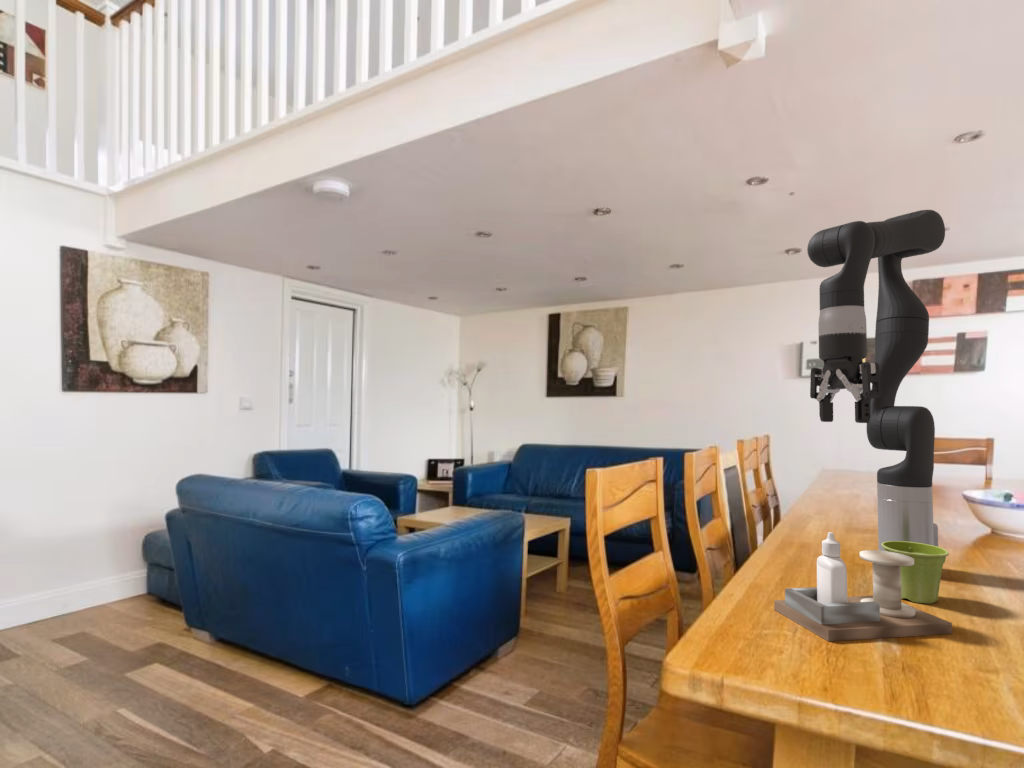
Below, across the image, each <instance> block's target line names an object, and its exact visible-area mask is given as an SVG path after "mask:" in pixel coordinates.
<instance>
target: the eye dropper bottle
mask: <svg viewBox="0 0 1024 768" xmlns="http://www.w3.org/2000/svg"><path fill="white" fill-rule="evenodd" d="M821 554H822V555H820V556H818V557H817V559H816V587H817V602H819V603H821V604H834V603H847V597H848V573H847V572H848V571H847V564H846V563H845V562H844V560H843V559H842V558H841V543H840V542H839V541H838V540H837V539H836V537H835V534H834V532H831V531H830V532H829V531H828V532H827V536H826V538H825V539H824V540H822V541H821Z"/></svg>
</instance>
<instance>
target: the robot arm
mask: <svg viewBox="0 0 1024 768" xmlns="http://www.w3.org/2000/svg"><path fill="white" fill-rule="evenodd" d="M945 226H946V225H945V223H944V219H943V217H942V216H941V214H940V213H939V212H937V211H935V210H934V209H921V210H917V211H913V212H908V213H905V214H901V215H897V216H894V217H890V218H887V219H885V220H881V221H879V220H878V221H870V222H865V221H862V220H856V221H851V222H847V223H844V224H840V225H836V226H833V227H828V228H824V229H821V230H819V231H817V232H816V233H814V234H813V235H812V236H811V237H810V240H809V241H808V243H807V255H808V258H809V260H810V261H811V262H812V263H813V264H814V265H816V266H818V267H822V268H830V267H835V266H840V265H843V266H842V268H841V270H839V272H837V273H836V274H834V275H832V276H830V277H827V278H825V279H823V280H822V281H821V282H820V285H819V317H818V326H817V327H818V358H819V360H821V361H823V366H822V367H812V368H811V369H810V382H809V383H810V385H809V386H810V388H809V393H810V394H809V396H810V398H811V399H814V400H816V401H817V402H818V405H819V412H818V413H819V418H820V419H819V420H820V422H822V423H832V422H833V421H834V402H832V401H833V399H834V398H835V396H836V394H837V393H839V392H840V391H841V390H845V389H846V391H848V392H849V393H851V395H852V396H853V398H854V399H855V401H854V421H855V423H857V424H866V437H867V440H868V443H869V444H870V445H871V447H872V448H874V449H877V450H881V451H882V450H883V451H887V450H888V451H900V452H905V456H904V459H903V460H902V461H900V462H899V463H896V464H894V465H889V466H886V467H881V468H878V470H877V473H876V491H877V495H876V496H877V498H876V499H877V537H878V539H877V541H878V542H877V543H878V550H880V551H885V550H884V548H883V547H882V545H881V544H882V543H883V542H886V541H907V542H916V543H923V544H928V545H933V546H937V547H939V526H938V524H937V523H934V501H933V498H934V497H933V495H934V494H933V476H934V468H935V467H934V466H935V462H934V461H935V455H934V454H935V441H936V440H935V438H936V430H935V429H936V427H935V420H934V417H933V414H932V412H931V410H929V408H927V407H925V406H922V405H921V406H920V405H919V406H918V405H916V406H915V405H895V403H896V397H897V394H898V390H899V388H900V385H901V384H902V382H903V380H904V379H905V377H906V376H907V374H908V373H909V372H910V371H911V370H912V368H914V366H915V365H916V363H917V362H918V360H920V358H921V357H922V356H923V355H924V352H925V351H926V349H927V347H928V344H929V335H930V334H929V333H930V332H929V331H930V329H929V328H930V327H929V326H930V314H929V311H928V309H927V307H926V305H925V304H924V303H923V302H922V300H921V299H920V298H919V296H918V295H917V294H916V293H915V292H914V290H913V289H911V287H910V285H909V284H908V283H907V281H906V280H905V278H904V275H903V270H902V261H903V259H906V258H911V257H917V256H922V255H926V254H929V253H933V252H935V251H937V250H938V249H939V248H940V247H941V246H942V245H943V243H944V240H945V237H946V227H945ZM872 259H877V268H878V269H877V271H878V289H877V290H878V292H877V309H876V318H875V319H876V320H875V332H874V334H875V335H874V361H873V362H869V361H863V360H864V359H866V358H867V357H868V347H867V346H868V345H867V344H868V343H867V341H868V340H867V336H868V335H867V316H866V311H865V283H866V280H867V279H866V278H867V274H868V272H869V271H868V270H869V266H870V263H871V260H872ZM818 387H819V391H817V390H818Z"/></svg>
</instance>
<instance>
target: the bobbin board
mask: <svg viewBox="0 0 1024 768" xmlns="http://www.w3.org/2000/svg"><path fill="white" fill-rule="evenodd" d="M859 558H860V559H861V560H864V561H866V562H869V563H872V595H862V596H861V595H860V596H858V595H855V596H847V603H834V604H821V603H819V602H817V586H816V587H815V586H814V587H812V586H811V587H810V586H809V587H788V588H784V599H777V600H776V599H775V600H774V601H773V603H774V608H773V609H774V611H776V612H777V613H779V614H780V615H782V616H784V617H786V618H788V619H789V620H790V621H793V622H795V623H796V624H798V625H799V626H801V627H803V628H805V629H807V630H808V631H809V632H812V633H813V634H815V635H816V636H818V637H821V639H823V640H825V641H827V642H839V641H855V640H856V641H857V640H870V639H872V640H875V639H886V638H887V639H888V638H889V639H890V638H901V637H902V638H904V637H906V638H907V637H919V636H921V637H922V636H934V635H951V634H953V622H950V621H948V620H946V619H943V618H941V617H939V616H936V615H934V614H932V613H928V612H926V611H924V610H921V609H919V608H916V607H914V606H911V605H910V604H906V603H904V602H902V599H901V566H912V565H914V559H913V558H912V557H910V556H907V555H904V554H899V553H895V552H889V551H880V550H879V549H865V550H861V551H859Z"/></svg>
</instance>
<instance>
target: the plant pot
mask: <svg viewBox="0 0 1024 768" xmlns="http://www.w3.org/2000/svg"><path fill="white" fill-rule="evenodd" d="M881 545H882V547H883V548H884V550H885V551H889V552H895V553H899V554H904V555H907V556H910V557H912V558H913V559H914V565H912V566H901V600H902V599H907V600H909V601H910V602H913V603H916V604H926V605H929V604H934V603H935V602H938V599H939V592H940V585H941V579H942V578H941V577H942V573H943V567H944V564H945V563H946V557H948V556H949V555H950V552H949V550H947V549H945V548H943V547H941V546H938V547H937V546H933V545H928V544H923V543H916V542H907V541H886V542H883V543H882V544H881Z"/></svg>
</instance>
